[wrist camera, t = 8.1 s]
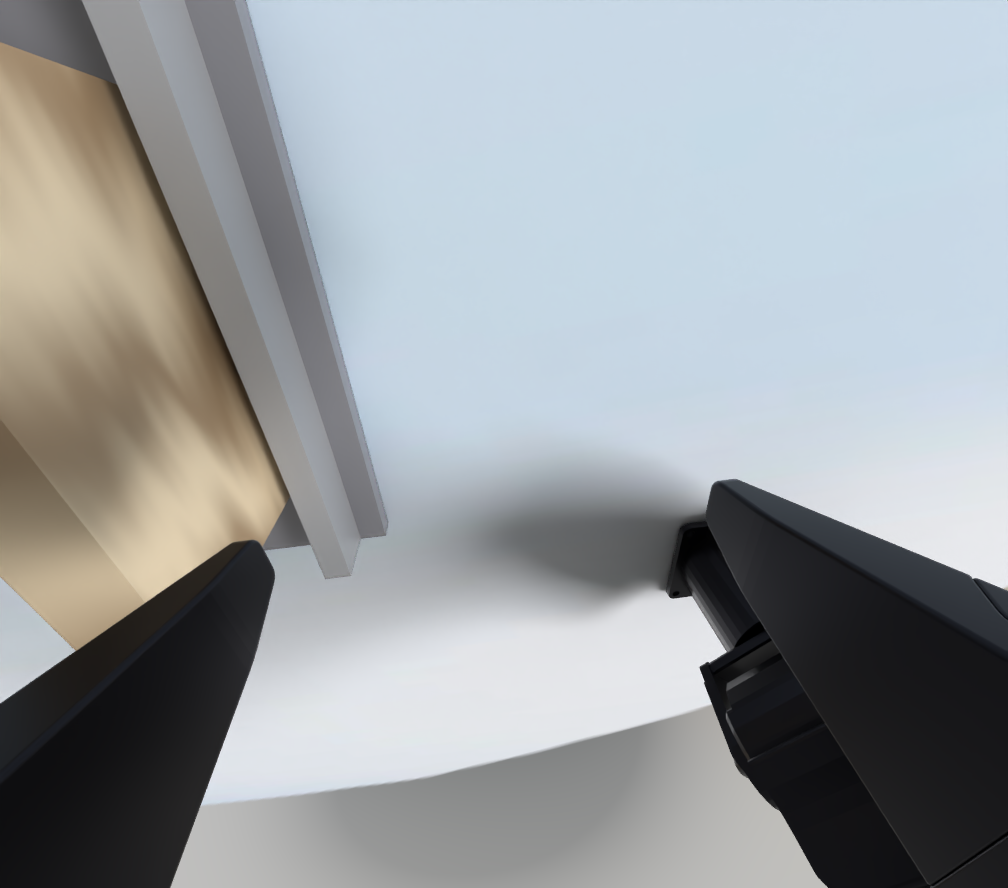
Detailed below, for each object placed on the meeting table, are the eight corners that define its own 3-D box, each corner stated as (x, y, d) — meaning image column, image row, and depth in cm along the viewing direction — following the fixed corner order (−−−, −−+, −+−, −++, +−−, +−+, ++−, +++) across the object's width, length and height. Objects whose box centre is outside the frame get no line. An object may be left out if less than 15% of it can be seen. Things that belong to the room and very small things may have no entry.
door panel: (298, 480, 19) (196, 667, 11) (228, 488, 19) (74, 684, 11) (147, 95, 12) (-417, -110, 4) (31, 100, 12) (-802, -109, 4)
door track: (388, 522, 22) (378, 572, 19) (218, 543, 22) (181, 597, 19) (220, -91, 11) (134, -203, 8) (-149, -87, 10) (-395, -207, 7)
